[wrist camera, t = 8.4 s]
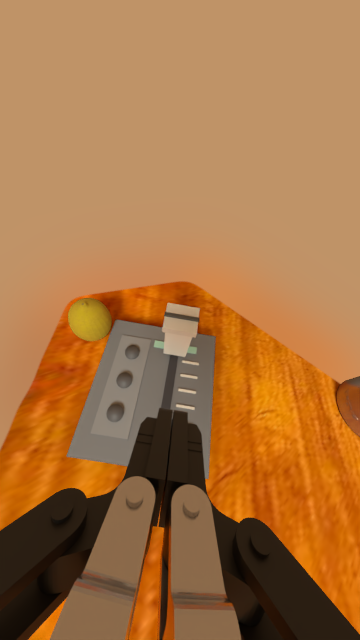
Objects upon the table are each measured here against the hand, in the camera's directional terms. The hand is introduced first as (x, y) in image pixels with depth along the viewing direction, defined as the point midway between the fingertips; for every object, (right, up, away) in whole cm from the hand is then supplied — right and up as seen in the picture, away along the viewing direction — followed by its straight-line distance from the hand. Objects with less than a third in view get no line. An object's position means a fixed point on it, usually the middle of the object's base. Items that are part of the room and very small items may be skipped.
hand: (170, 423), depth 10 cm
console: (-3, -5, +18) cm, 19 cm away
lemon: (-13, +3, +22) cm, 26 cm away
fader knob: (0, +1, +19) cm, 19 cm away
